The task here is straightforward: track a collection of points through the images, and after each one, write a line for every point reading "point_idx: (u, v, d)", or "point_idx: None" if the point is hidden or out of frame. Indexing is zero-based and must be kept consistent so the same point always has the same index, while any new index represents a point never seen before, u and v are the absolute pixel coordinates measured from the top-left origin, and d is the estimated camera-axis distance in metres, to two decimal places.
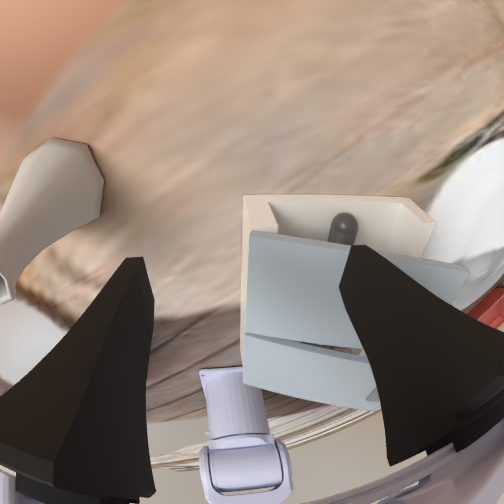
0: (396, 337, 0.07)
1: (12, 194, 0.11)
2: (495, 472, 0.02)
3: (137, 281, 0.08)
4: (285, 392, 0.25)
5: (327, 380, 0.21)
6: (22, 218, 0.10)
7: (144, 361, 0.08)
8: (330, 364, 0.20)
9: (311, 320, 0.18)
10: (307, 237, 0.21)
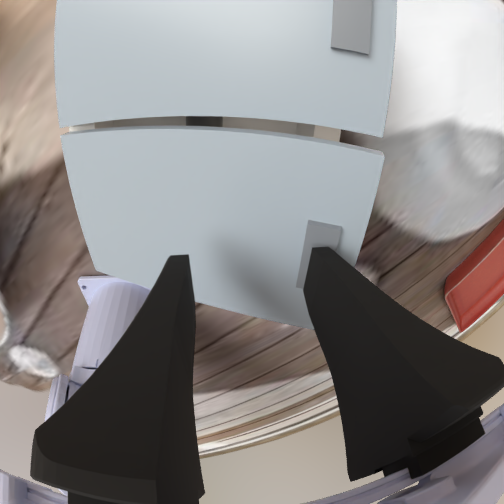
0: (352, 347, 0.07)
1: None
2: (495, 472, 0.02)
3: (187, 279, 0.08)
4: (149, 281, 0.14)
5: (194, 222, 0.11)
6: None
7: (191, 360, 0.08)
8: (179, 158, 0.10)
9: (126, 58, 0.08)
10: None
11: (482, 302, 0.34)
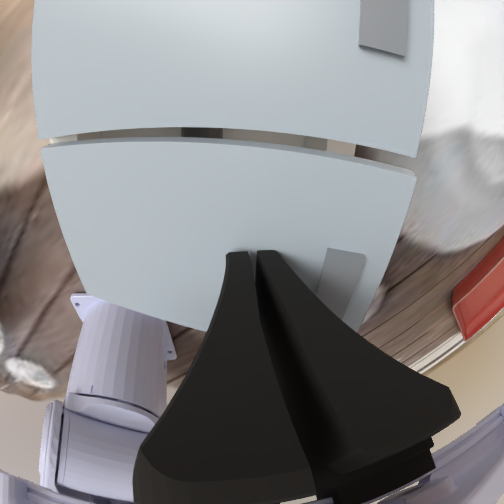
0: (285, 359, 0.07)
1: None
2: (495, 472, 0.02)
3: None
4: (145, 307, 0.13)
5: (194, 248, 0.10)
6: None
7: None
8: (176, 176, 0.08)
9: (108, 58, 0.06)
10: None
11: (487, 310, 0.33)
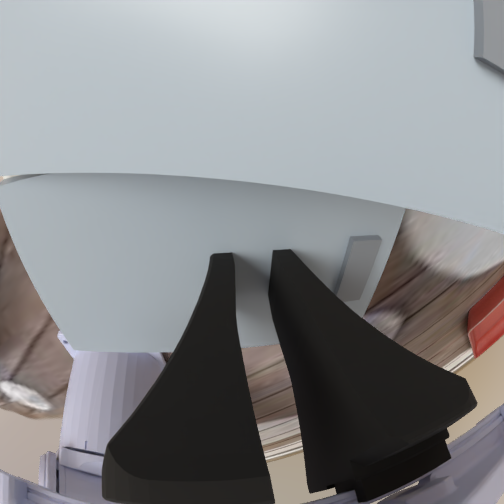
0: (305, 356, 0.07)
1: None
2: (495, 472, 0.02)
3: None
4: (152, 345, 0.11)
5: None
6: None
7: None
8: (199, 193, 0.07)
9: (49, 61, 0.03)
10: None
11: (498, 326, 0.30)
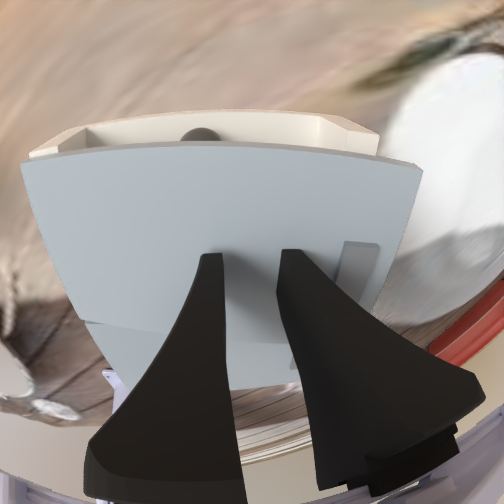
0: (316, 354, 0.07)
1: None
2: (495, 472, 0.02)
3: None
4: None
5: None
6: None
7: None
8: None
9: (142, 294, 0.11)
10: None
11: (466, 350, 0.37)
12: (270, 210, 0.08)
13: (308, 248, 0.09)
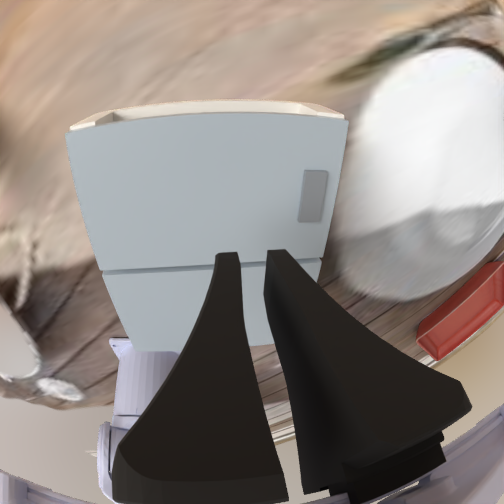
0: (298, 357, 0.07)
1: None
2: (495, 472, 0.02)
3: None
4: None
5: None
6: None
7: None
8: None
9: (162, 230, 0.15)
10: None
11: (458, 335, 0.40)
12: (256, 152, 0.13)
13: (281, 176, 0.14)
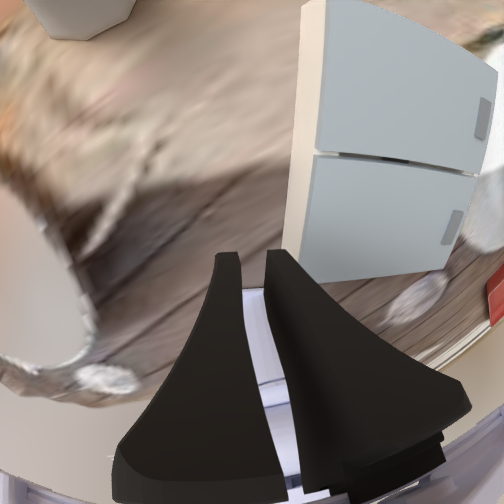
0: (298, 357, 0.07)
1: None
2: (495, 472, 0.02)
3: None
4: (356, 273, 0.19)
5: (409, 221, 0.17)
6: None
7: None
8: (415, 184, 0.15)
9: (397, 114, 0.12)
10: None
11: None
12: (461, 73, 0.10)
13: (470, 97, 0.11)
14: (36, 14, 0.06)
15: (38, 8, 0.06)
